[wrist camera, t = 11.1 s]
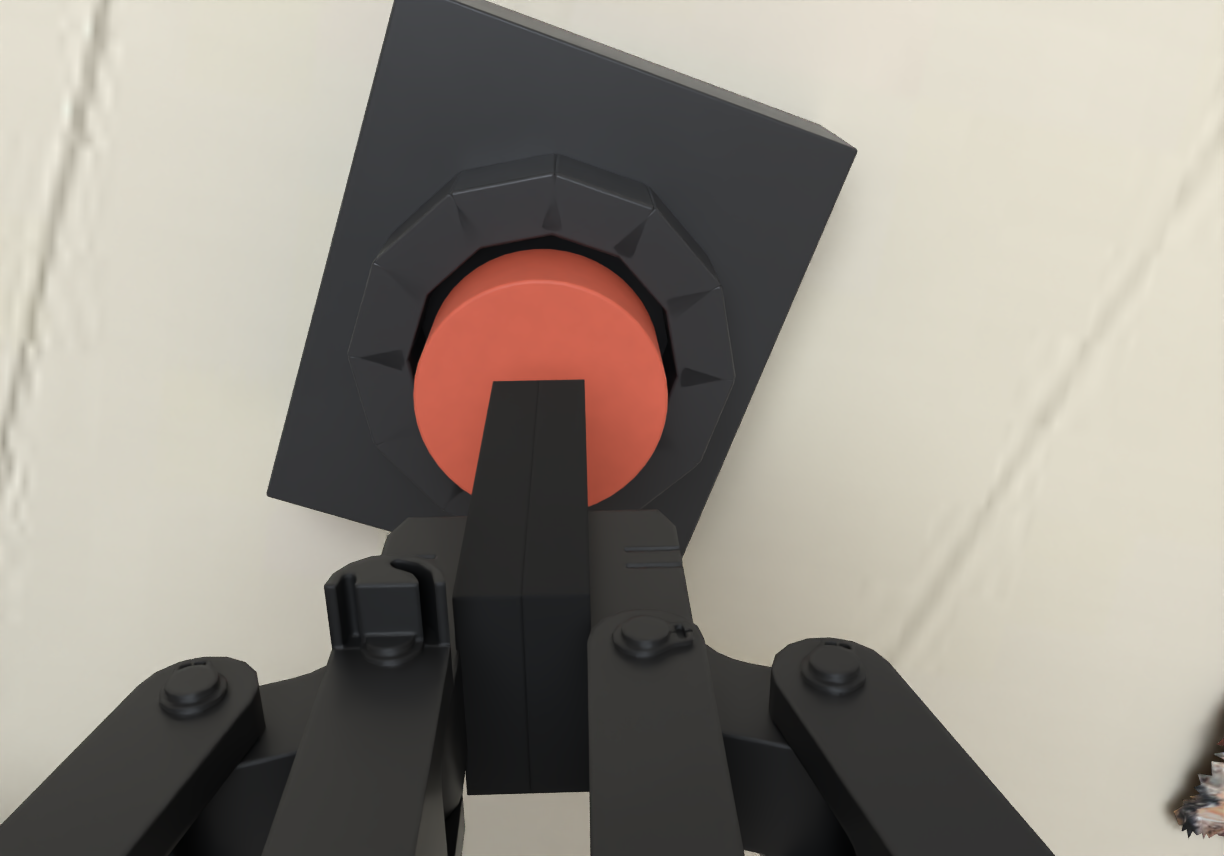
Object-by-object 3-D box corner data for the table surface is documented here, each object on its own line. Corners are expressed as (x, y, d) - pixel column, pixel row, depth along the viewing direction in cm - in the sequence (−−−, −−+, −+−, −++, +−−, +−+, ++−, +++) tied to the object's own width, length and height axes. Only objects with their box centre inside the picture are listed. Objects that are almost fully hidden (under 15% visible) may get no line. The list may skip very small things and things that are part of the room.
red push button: (613, 492, 24) (618, 545, 22) (401, 428, 23) (384, 475, 21) (692, 292, 22) (706, 327, 20) (466, 214, 21) (454, 243, 19)
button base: (650, 538, 31) (668, 664, 25) (300, 434, 29) (237, 544, 24) (822, 125, 27) (888, 168, 21) (422, -24, 25) (380, -19, 19)
